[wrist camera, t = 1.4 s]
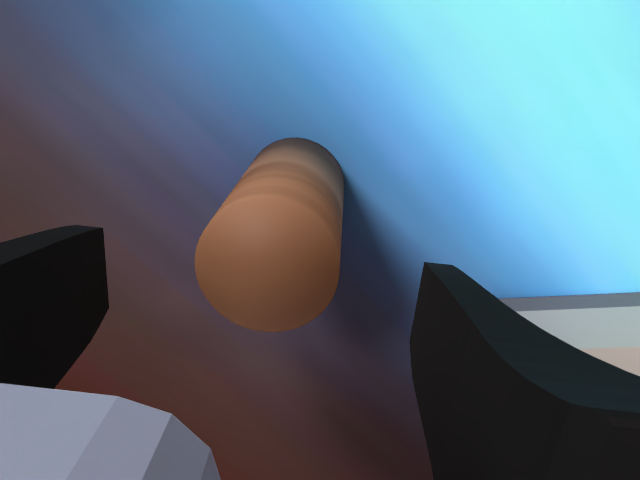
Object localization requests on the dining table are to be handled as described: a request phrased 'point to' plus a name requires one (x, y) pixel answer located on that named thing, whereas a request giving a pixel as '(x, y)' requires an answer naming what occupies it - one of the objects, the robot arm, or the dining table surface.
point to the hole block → (590, 324)
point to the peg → (276, 239)
